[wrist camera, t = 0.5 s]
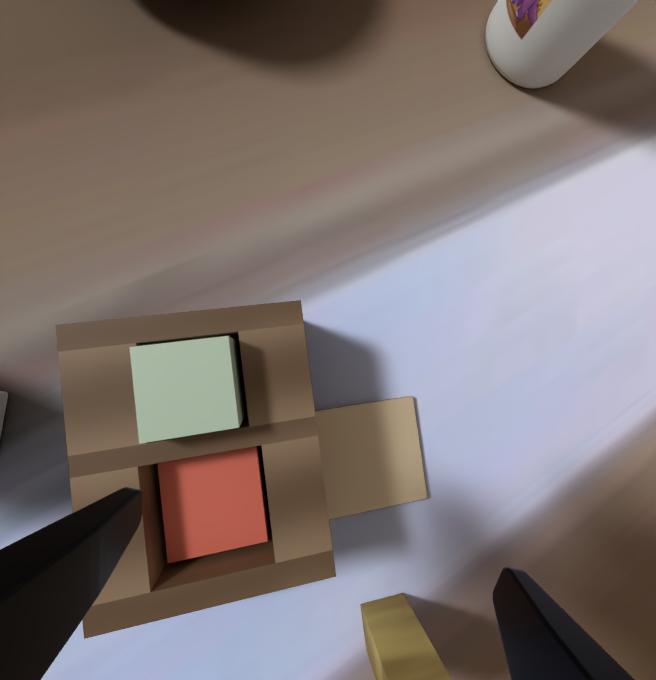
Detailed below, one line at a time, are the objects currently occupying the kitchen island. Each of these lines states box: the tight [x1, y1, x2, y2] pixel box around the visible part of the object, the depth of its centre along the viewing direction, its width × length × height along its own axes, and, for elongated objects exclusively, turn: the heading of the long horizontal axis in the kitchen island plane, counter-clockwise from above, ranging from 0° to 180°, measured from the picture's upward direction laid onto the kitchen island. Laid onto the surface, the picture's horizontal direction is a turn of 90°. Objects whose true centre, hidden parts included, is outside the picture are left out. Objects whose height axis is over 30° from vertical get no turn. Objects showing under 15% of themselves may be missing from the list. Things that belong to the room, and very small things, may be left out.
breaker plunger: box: [158, 446, 268, 563], centre depth 18 cm, size 5×5×2 cm
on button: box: [129, 336, 245, 444], centre depth 15 cm, size 4×4×3 cm
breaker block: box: [56, 300, 336, 639], centre depth 18 cm, size 14×11×6 cm
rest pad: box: [315, 396, 427, 520], centre depth 22 cm, size 7×7×1 cm
